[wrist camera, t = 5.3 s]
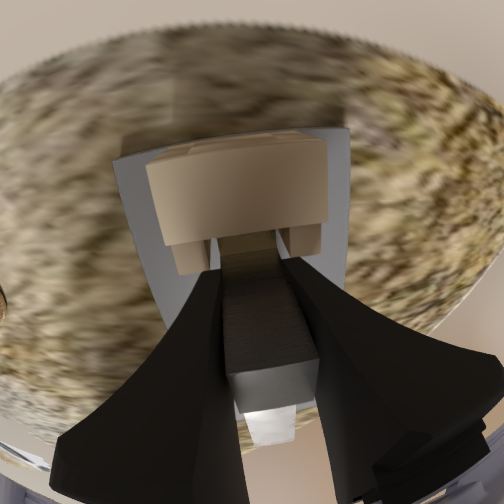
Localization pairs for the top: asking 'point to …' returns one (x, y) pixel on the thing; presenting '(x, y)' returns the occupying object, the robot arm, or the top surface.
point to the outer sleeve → (272, 425)
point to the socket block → (240, 193)
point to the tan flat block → (263, 327)
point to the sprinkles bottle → (2, 307)
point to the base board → (161, 257)
